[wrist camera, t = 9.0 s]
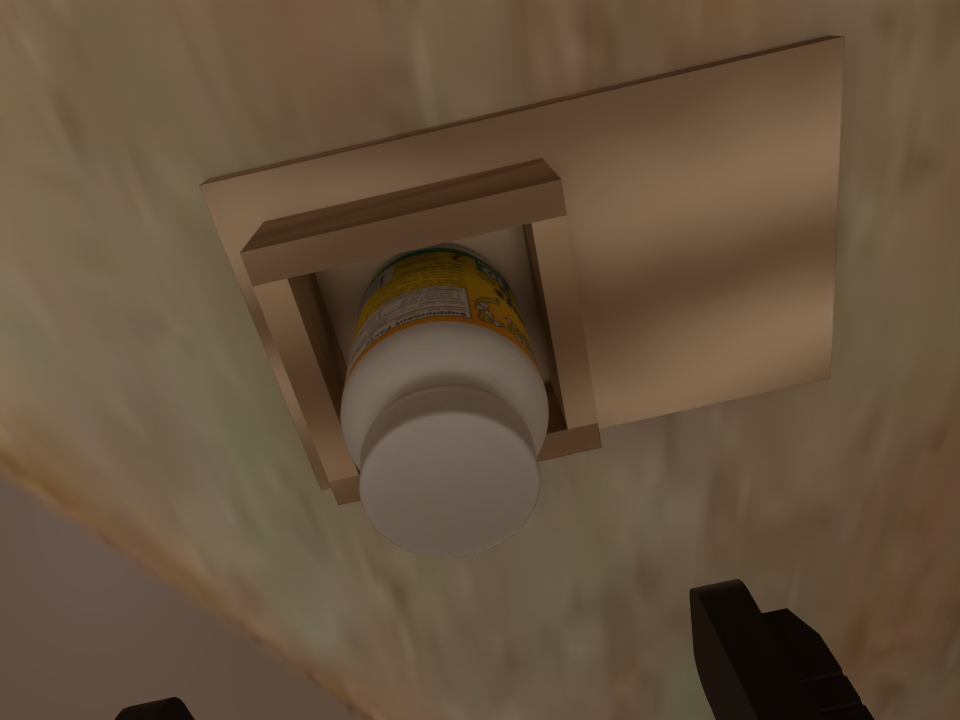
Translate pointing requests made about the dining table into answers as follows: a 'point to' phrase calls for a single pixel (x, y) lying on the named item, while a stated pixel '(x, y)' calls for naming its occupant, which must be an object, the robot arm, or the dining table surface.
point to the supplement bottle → (443, 404)
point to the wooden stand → (573, 242)
